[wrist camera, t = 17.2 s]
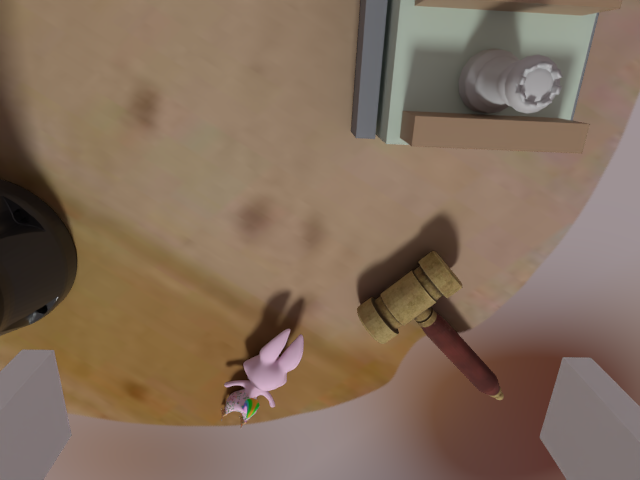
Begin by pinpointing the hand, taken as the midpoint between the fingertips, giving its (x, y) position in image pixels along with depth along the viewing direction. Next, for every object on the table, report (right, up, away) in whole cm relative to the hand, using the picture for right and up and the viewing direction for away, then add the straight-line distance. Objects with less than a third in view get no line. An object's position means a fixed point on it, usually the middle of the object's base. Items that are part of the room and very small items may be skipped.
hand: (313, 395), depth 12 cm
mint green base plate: (+12, +19, +26) cm, 34 cm away
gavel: (+14, -6, +38) cm, 41 cm away
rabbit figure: (-6, -10, +38) cm, 40 cm away
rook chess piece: (+12, +16, +21) cm, 29 cm away
